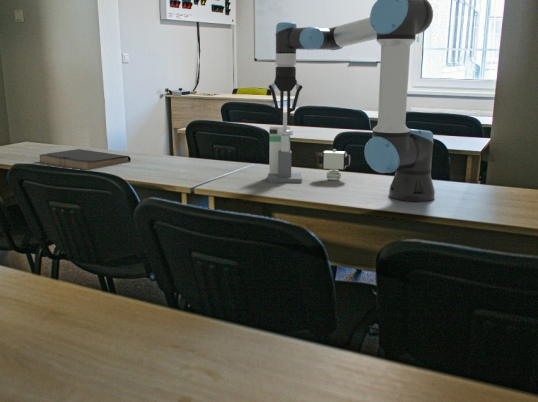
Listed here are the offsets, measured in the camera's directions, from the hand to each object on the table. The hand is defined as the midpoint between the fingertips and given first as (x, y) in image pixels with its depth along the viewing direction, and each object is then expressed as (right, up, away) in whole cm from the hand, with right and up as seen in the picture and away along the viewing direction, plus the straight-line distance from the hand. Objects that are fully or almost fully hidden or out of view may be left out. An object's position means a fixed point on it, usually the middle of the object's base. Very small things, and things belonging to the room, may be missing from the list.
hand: (284, 129), depth 219 cm
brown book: (-89, -10, +41) cm, 98 cm away
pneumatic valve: (+19, -19, +5) cm, 27 cm away
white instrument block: (-1, -11, +3) cm, 11 cm away
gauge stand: (0, -19, +5) cm, 19 cm away
